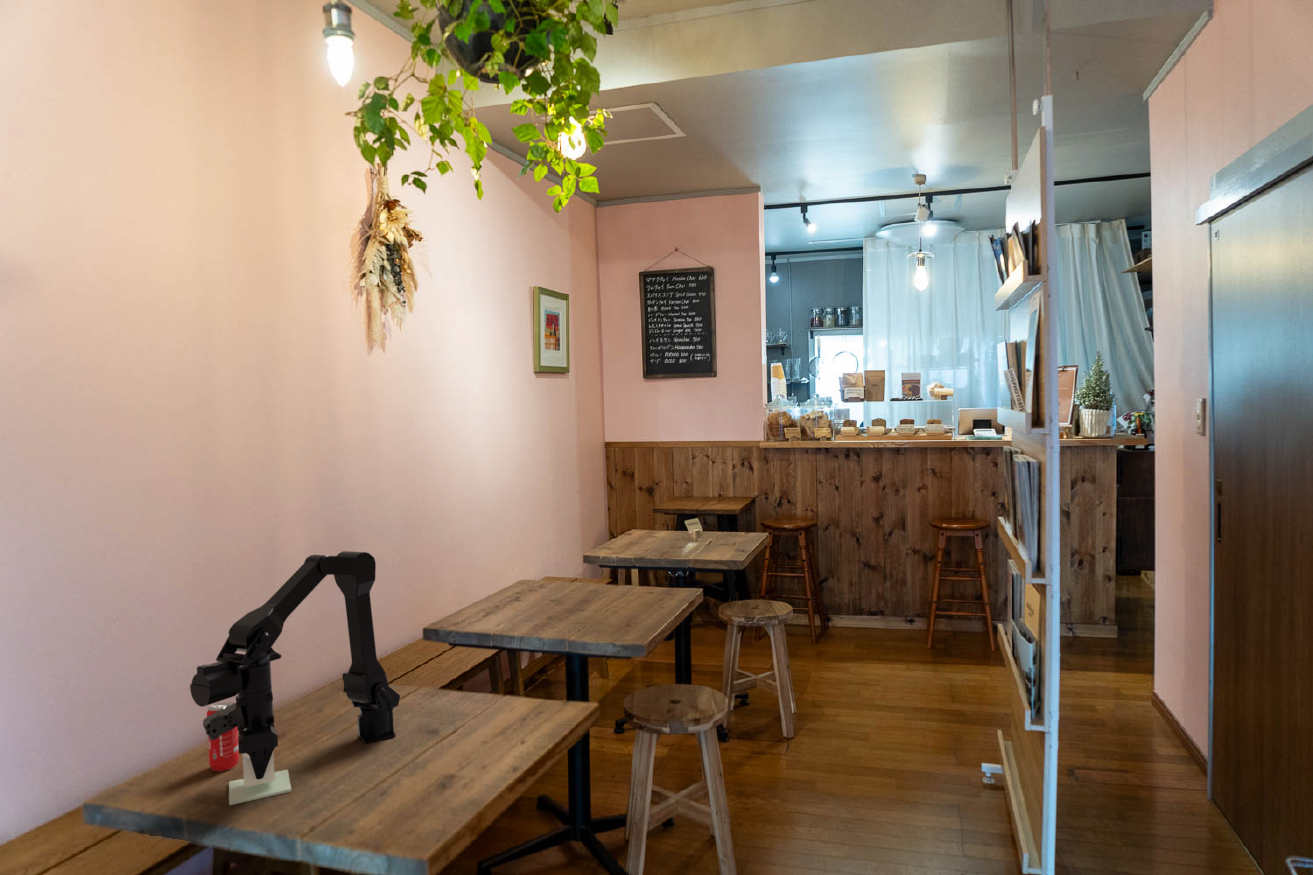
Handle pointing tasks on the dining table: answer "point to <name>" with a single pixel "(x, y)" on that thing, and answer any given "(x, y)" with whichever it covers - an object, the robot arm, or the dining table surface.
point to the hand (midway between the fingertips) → (259, 773)
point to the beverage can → (223, 745)
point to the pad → (259, 788)
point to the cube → (250, 775)
